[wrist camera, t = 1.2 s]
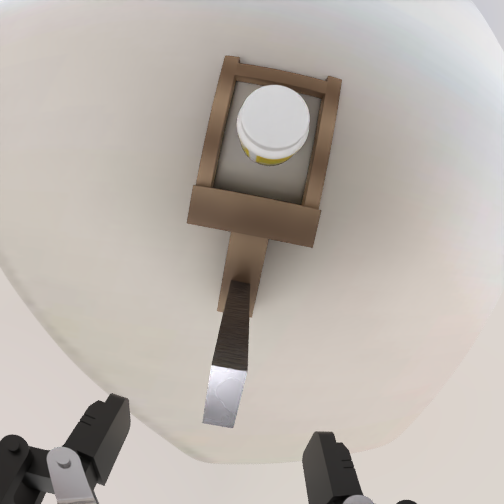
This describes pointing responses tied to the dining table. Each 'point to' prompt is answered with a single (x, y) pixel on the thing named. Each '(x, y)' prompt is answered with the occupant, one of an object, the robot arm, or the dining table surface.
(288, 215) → the strip frame
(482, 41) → the dining table surface
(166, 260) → the dining table surface
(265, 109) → the supplement bottle
